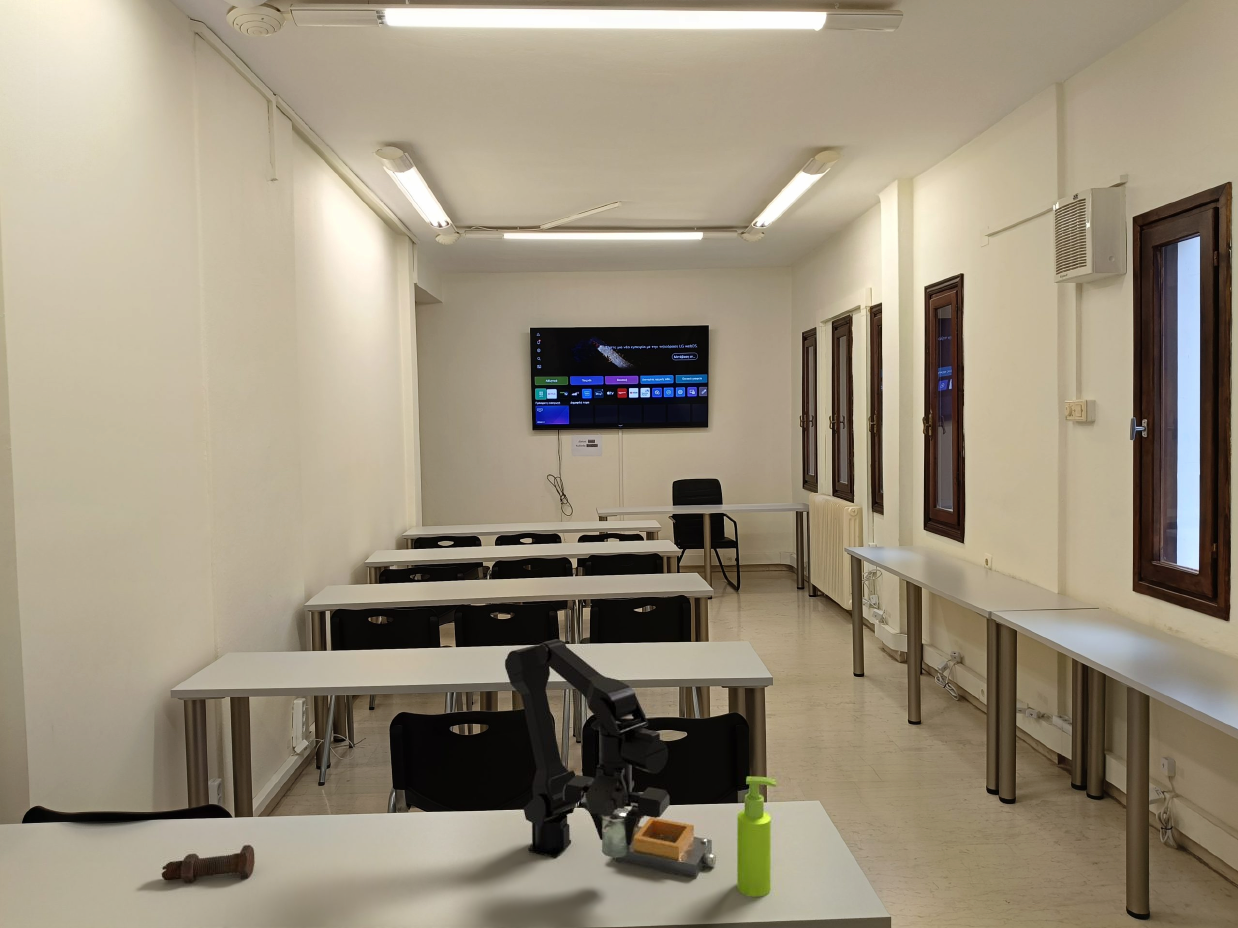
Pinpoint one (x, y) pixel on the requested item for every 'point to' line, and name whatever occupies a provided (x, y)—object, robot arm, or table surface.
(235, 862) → the bolt
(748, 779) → the soap dispenser
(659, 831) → the grey orange socket fixture
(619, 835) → the spout can
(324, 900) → the table surface
